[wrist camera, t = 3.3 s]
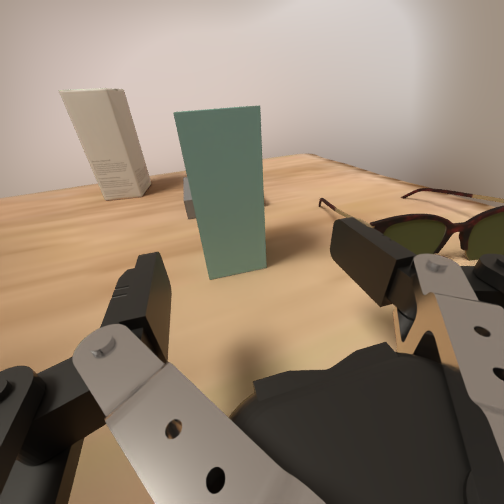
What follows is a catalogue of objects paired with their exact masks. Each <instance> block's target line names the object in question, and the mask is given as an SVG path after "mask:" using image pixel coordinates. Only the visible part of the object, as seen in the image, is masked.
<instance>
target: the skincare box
mask: <svg viewBox="0 0 504 504" xmlns="http://www.w3.org/2000/svg"><path fill="white" fill-rule="evenodd" d="M59 93H60V95H61V97H62V100H63V102H64V104H65V107H66V109H67V111H68V114H69V116H70V118H71V121H72V123H73V126H74V128H75V130H76V133H77V135H78V137H79V140H80V142H81V145H82V147H83V149H84V152H85V154H86V156H87V158H88V161H89V163H90V166H91V168H92V171H93V173H94V175H95V178H96V180H97V182H98V185H99V187H100V189H101V192H102V194H103V196H104V199H105V200H106V201H109V200H118V199H127V198H137V197H142V196H143V194H144V193H145V192H146V190H147V189H148V188H149V186H150V185H151V180H150V177H149V174H148V170H147V167H146V164H145V160H144V157H143V154H142V150H141V147H140V144H139V140H138V136H137V133H136V130H135V126H134V123H133V119H132V116H131V113H130V110H129V106H128V103H127V99H126V96H125V92H124V90H123V89H107V88H102V89H75V90H59Z"/></svg>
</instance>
